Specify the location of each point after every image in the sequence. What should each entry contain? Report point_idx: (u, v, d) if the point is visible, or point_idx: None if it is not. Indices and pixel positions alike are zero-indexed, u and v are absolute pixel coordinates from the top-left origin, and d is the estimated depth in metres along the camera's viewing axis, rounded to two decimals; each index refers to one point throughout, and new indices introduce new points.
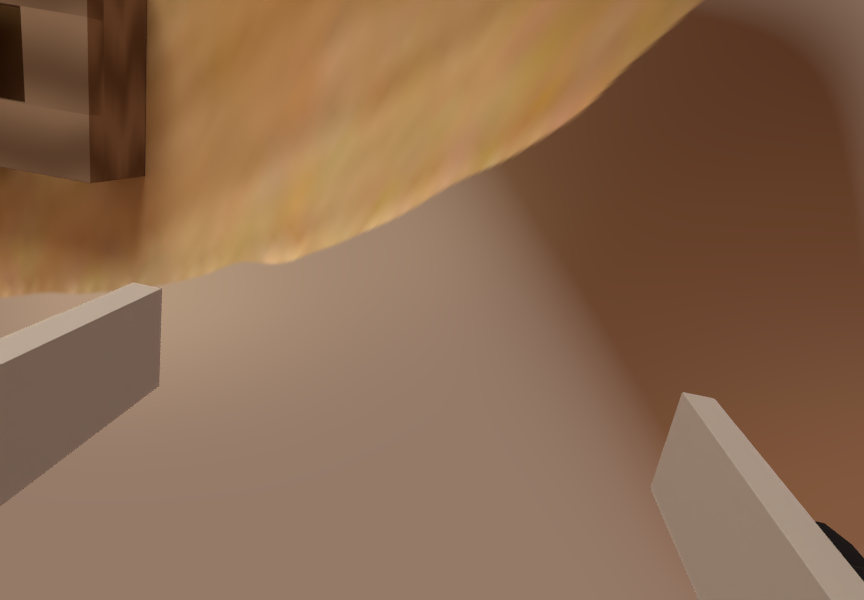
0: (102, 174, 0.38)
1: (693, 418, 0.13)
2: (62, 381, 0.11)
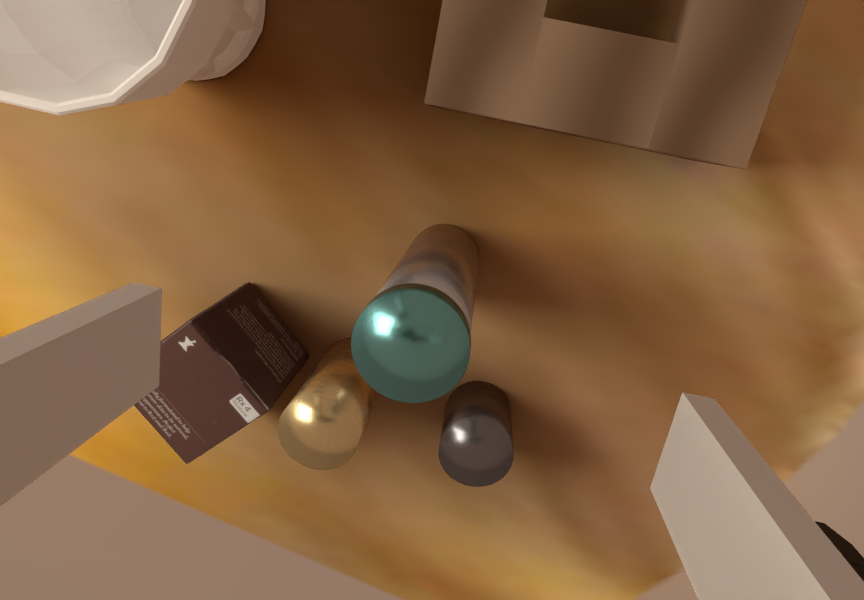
0: None
1: (693, 418, 0.13)
2: (62, 381, 0.11)
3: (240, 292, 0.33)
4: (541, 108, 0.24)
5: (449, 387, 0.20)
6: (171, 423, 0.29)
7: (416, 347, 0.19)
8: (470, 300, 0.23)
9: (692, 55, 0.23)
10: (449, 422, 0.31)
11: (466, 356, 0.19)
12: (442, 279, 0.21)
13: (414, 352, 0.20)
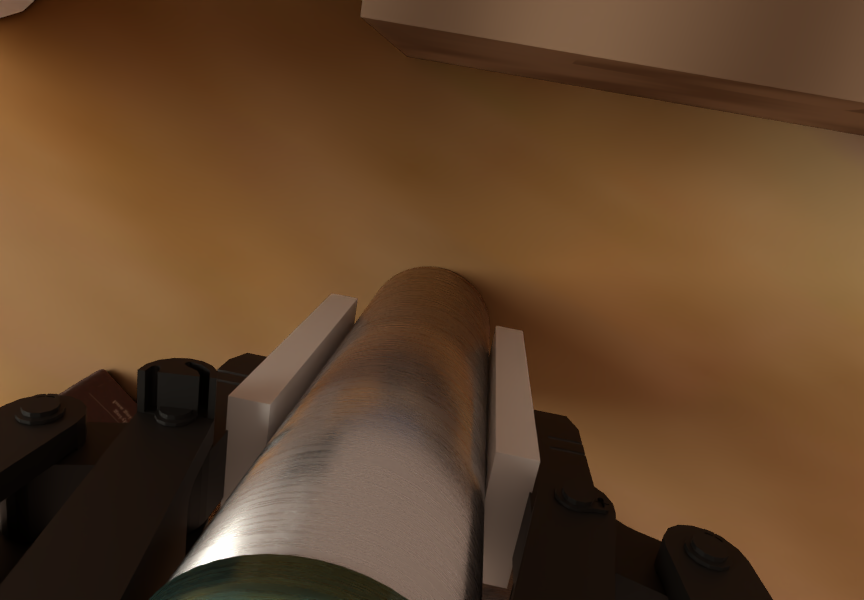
0: None
1: (494, 343, 0.15)
2: None
3: (74, 393, 0.19)
4: (636, 17, 0.10)
5: None
6: None
7: None
8: (477, 504, 0.09)
9: None
10: None
11: None
12: (394, 488, 0.07)
13: None
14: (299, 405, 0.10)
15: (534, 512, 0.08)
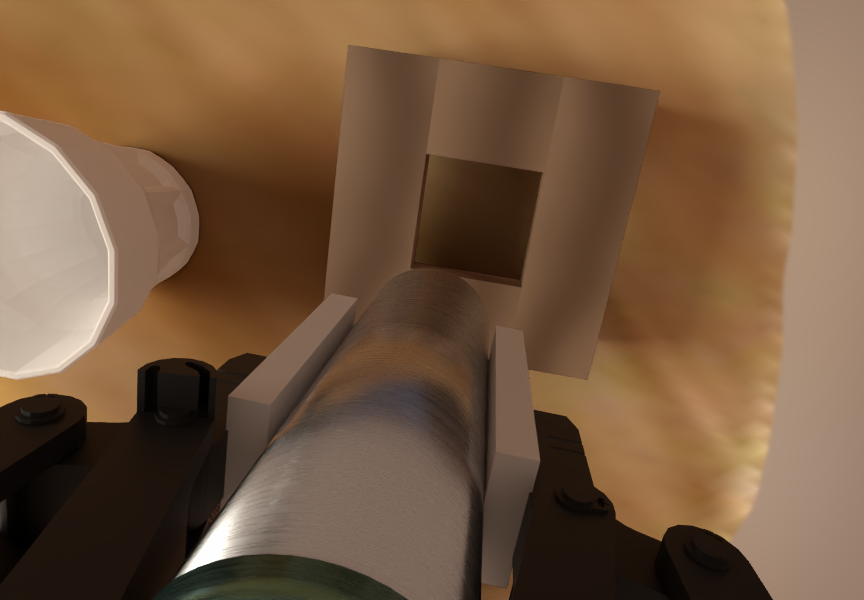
0: None
1: (494, 343, 0.15)
2: None
3: None
4: None
5: None
6: None
7: None
8: (476, 505, 0.09)
9: (533, 296, 0.28)
10: None
11: None
12: (393, 488, 0.07)
13: None
14: (299, 406, 0.10)
15: (534, 512, 0.08)
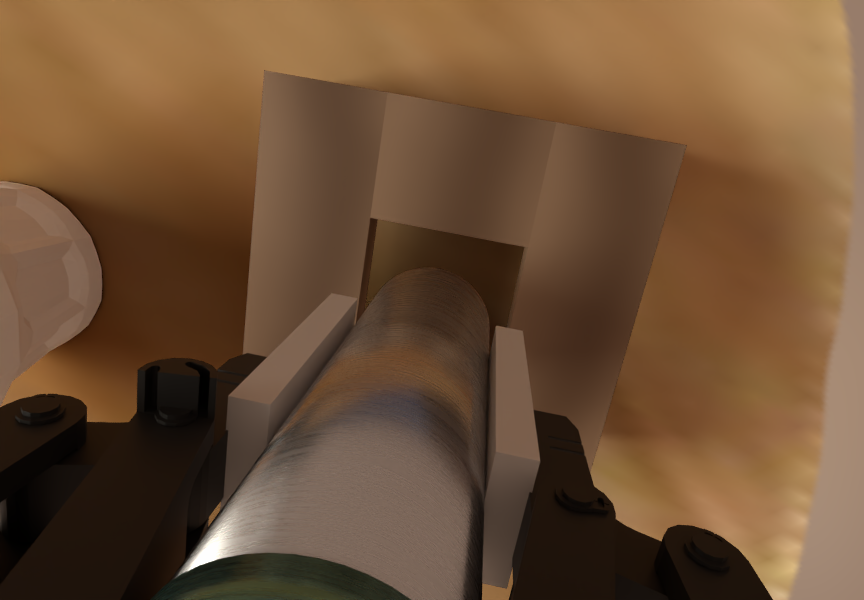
0: None
1: (494, 343, 0.15)
2: None
3: None
4: None
5: None
6: None
7: None
8: (477, 504, 0.09)
9: None
10: None
11: None
12: (394, 487, 0.07)
13: None
14: (300, 405, 0.10)
15: (534, 512, 0.08)
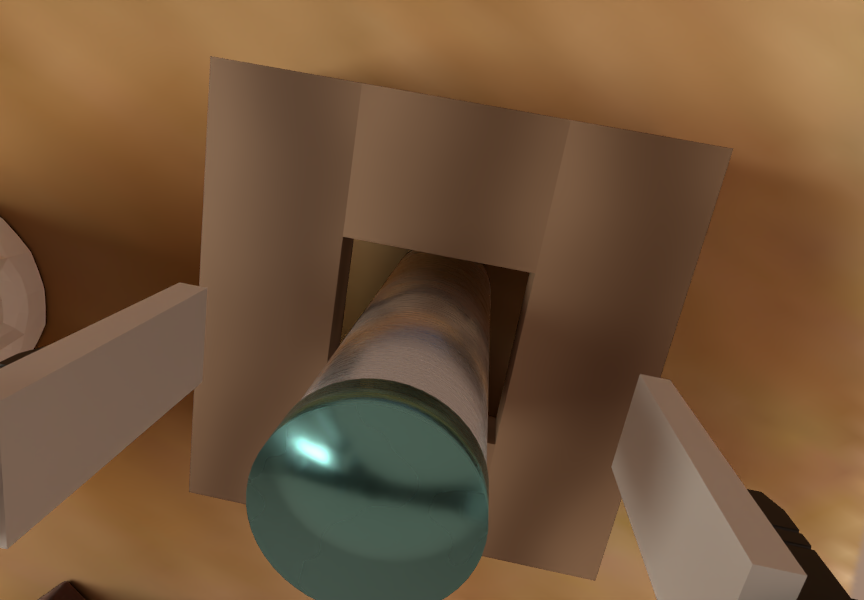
0: None
1: (647, 397, 0.13)
2: (124, 376, 0.12)
3: None
4: None
5: (448, 588, 0.10)
6: None
7: (378, 514, 0.09)
8: (483, 385, 0.13)
9: (513, 457, 0.18)
10: None
11: (481, 531, 0.09)
12: (431, 358, 0.11)
13: (374, 523, 0.10)
14: (356, 325, 0.14)
15: None
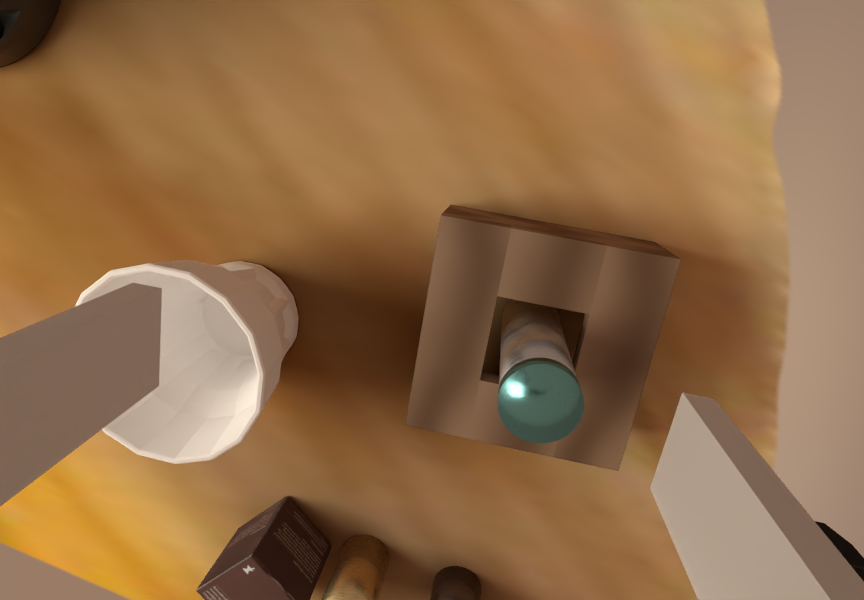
0: (667, 254, 0.34)
1: (693, 418, 0.13)
2: (62, 381, 0.11)
3: (281, 510, 0.46)
4: (481, 431, 0.37)
5: (568, 431, 0.28)
6: None
7: (545, 403, 0.27)
8: None
9: None
10: None
11: (581, 409, 0.27)
12: (556, 351, 0.29)
13: (543, 407, 0.27)
14: (513, 338, 0.32)
15: None
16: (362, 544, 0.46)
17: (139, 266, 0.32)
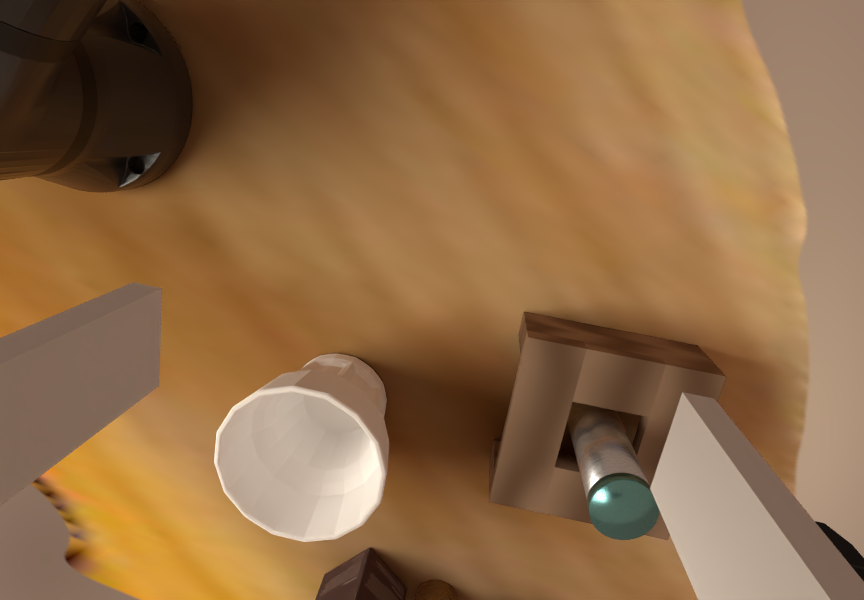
0: (713, 368, 0.41)
1: (693, 418, 0.13)
2: (62, 381, 0.11)
3: (367, 562, 0.53)
4: (554, 507, 0.44)
5: (645, 531, 0.35)
6: None
7: (628, 510, 0.35)
8: None
9: None
10: None
11: (656, 515, 0.34)
12: (631, 462, 0.36)
13: (626, 513, 0.35)
14: (590, 443, 0.39)
15: None
16: (436, 589, 0.54)
17: (285, 388, 0.38)
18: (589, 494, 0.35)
